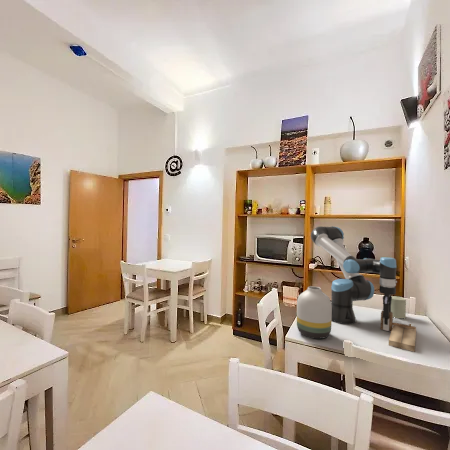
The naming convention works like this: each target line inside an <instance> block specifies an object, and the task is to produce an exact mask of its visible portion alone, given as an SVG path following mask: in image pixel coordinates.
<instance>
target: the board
mask: <svg viewBox="0 0 450 450" xmlns="http://www.w3.org/2000/svg"><path fill="white" fill-rule="evenodd" d="M414 327H415V329H410V328H405V327H400V326H396V325H392V331H390V335H389V338H388V346H391V347H395V348H398V349H402V350H406V351H410V352H416V339H417V326H414Z"/></svg>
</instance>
